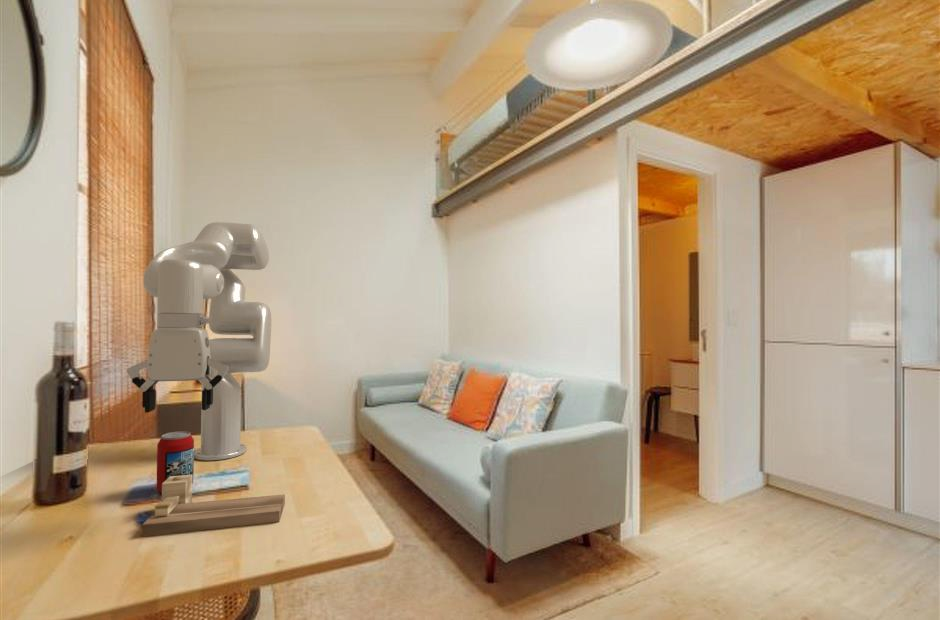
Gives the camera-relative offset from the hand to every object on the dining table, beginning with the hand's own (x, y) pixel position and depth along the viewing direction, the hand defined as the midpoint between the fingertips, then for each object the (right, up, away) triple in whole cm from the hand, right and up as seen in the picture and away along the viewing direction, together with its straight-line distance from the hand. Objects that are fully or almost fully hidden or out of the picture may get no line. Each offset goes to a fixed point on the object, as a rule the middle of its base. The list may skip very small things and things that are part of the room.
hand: (178, 409), depth 88 cm
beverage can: (-7, -20, +10) cm, 23 cm away
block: (+1, -20, -3) cm, 20 cm away
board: (+10, -20, -4) cm, 22 cm away
